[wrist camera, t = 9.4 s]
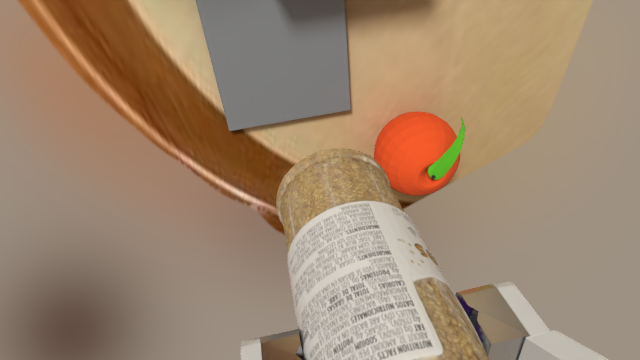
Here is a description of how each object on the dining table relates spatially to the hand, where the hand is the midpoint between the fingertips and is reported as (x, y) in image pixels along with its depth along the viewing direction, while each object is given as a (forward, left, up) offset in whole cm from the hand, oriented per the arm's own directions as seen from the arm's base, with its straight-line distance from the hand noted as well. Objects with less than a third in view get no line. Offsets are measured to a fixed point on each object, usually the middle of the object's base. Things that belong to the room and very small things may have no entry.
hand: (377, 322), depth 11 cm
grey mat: (0, 0, -24) cm, 24 cm away
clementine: (-10, +8, -24) cm, 27 cm away
